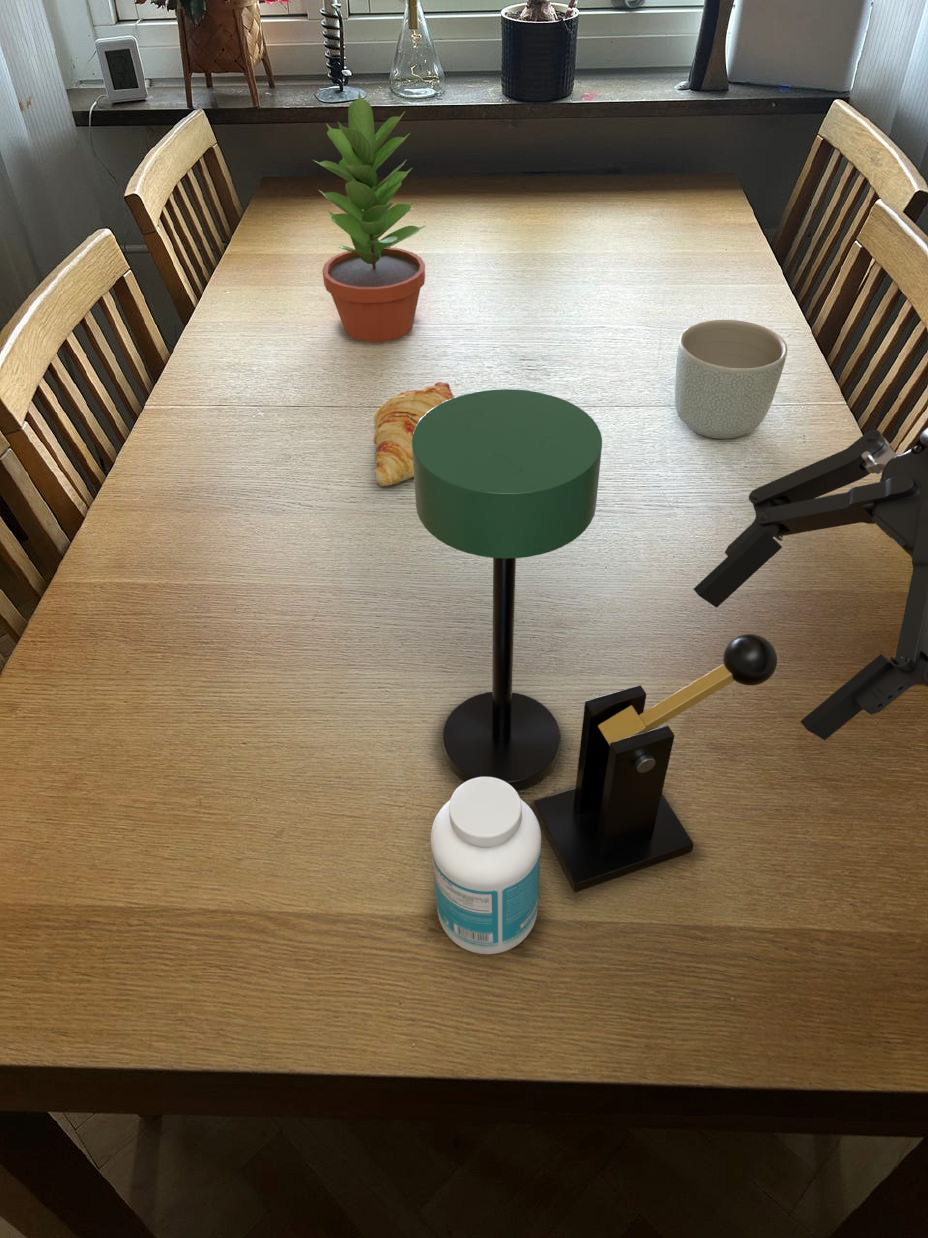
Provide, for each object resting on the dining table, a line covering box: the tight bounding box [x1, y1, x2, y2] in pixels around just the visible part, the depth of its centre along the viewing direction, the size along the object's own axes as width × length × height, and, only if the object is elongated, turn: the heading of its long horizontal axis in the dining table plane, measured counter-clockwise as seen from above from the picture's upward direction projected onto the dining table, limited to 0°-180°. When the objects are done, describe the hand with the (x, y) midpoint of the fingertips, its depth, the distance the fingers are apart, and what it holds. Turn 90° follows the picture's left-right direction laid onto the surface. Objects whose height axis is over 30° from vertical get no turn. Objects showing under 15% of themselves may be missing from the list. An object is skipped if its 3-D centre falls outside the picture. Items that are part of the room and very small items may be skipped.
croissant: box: [373, 381, 455, 487], centre depth 112 cm, size 21×10×8 cm, turn 162°
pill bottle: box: [430, 777, 542, 955], centre depth 64 cm, size 8×7×14 cm
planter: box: [674, 319, 788, 440], centre depth 113 cm, size 12×12×11 cm
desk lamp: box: [412, 388, 603, 793], centre depth 69 cm, size 12×12×31 cm
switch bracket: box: [532, 684, 695, 893], centre depth 69 cm, size 10×8×14 cm
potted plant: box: [312, 91, 427, 343], centre depth 126 cm, size 15×15×30 cm
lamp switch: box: [598, 633, 778, 745], centre depth 65 cm, size 13×4×4 cm, turn 110°
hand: (754, 660), depth 65 cm, fingers open, 13 cm apart
